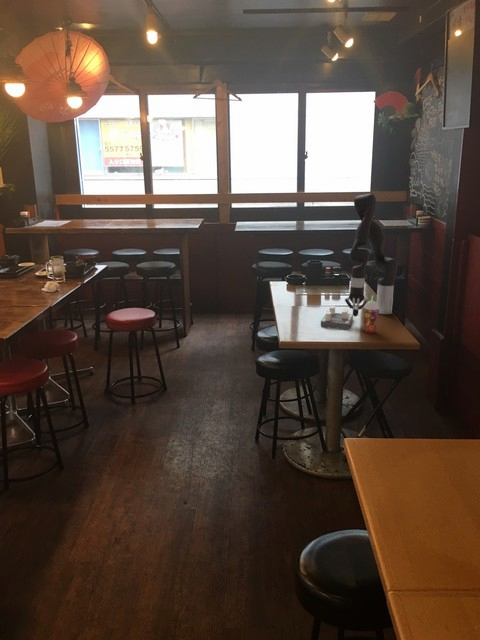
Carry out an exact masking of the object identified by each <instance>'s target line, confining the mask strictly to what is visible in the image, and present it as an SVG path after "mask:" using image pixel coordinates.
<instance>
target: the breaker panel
mask: <svg viewBox="0 0 480 640" xmlns="http://www.w3.org/2000/svg"><path fill="white" fill-rule="evenodd" d="M325 320H326V314H324V316H323V318H322V319H321V320H320V327H321V328H323V327H324V328H330V329H331V328H332V329H333V328H335V329H343V330H349V328H350V326H351V324H352V323H353V320H354V315H353V313H351V314H350V313H348V317H347V319H342V313H340V312H335V314H334V315H331V320H330V321H325Z"/></svg>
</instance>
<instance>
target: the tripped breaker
mask: <svg viewBox="0 0 480 640" xmlns="http://www.w3.org/2000/svg"><path fill="white" fill-rule="evenodd" d="M348 314H349V310H348V309H343V310H342V319H347V317H348Z"/></svg>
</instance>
